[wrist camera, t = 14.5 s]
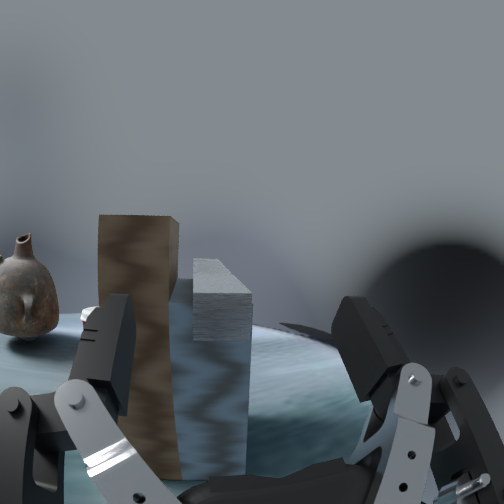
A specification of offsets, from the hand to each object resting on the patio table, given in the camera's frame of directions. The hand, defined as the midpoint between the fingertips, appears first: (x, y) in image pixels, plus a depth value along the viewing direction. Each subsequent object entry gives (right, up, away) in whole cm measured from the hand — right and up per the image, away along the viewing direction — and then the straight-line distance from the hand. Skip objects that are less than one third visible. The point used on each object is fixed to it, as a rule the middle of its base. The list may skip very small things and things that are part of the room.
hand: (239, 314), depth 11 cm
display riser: (-9, -26, +25) cm, 37 cm away
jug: (-62, -23, +50) cm, 83 cm away
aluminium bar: (-4, -2, +19) cm, 20 cm away
